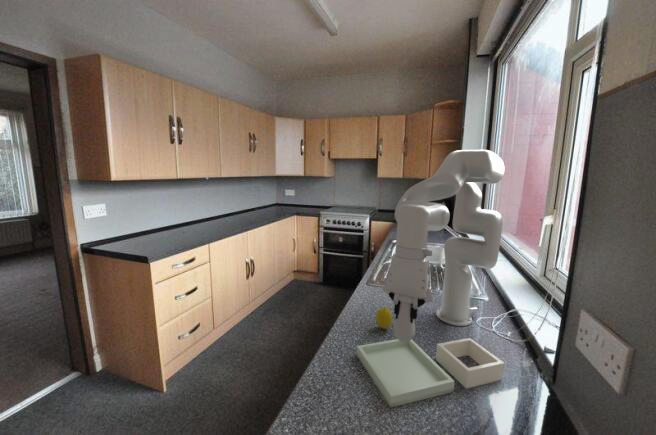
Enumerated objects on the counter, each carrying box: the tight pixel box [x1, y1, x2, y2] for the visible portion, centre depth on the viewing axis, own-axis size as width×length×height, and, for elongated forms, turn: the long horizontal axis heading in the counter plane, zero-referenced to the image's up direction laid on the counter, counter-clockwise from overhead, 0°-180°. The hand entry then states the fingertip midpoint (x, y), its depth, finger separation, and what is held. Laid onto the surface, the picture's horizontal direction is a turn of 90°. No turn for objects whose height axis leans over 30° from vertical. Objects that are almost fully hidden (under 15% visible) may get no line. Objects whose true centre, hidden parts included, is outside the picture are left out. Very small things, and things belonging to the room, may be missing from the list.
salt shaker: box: [392, 294, 416, 342], centre depth 76 cm, size 6×6×13 cm
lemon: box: [375, 307, 393, 330], centre depth 100 cm, size 6×6×8 cm
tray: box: [356, 338, 456, 408], centre depth 79 cm, size 18×20×3 cm
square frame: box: [435, 337, 505, 389], centre depth 81 cm, size 12×12×5 cm
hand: (405, 318), depth 76 cm, fingers closed on salt shaker, 3 cm apart
